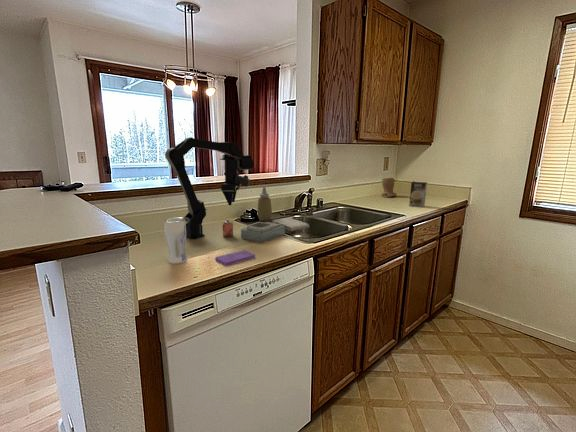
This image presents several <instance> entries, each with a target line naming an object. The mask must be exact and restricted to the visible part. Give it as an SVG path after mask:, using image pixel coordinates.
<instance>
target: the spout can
mask: <svg viewBox="0 0 576 432" xmlns="http://www.w3.org/2000/svg"><path fill="white" fill-rule="evenodd" d="M222 237H223V238H226V239H228V238H233V237H234V223H233V222H232V221H230V220H229V218H227V219H226V220H225V221H224V222H222Z"/></svg>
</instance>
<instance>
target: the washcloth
mask: <svg viewBox="0 0 576 432" xmlns="http://www.w3.org/2000/svg"><path fill="white" fill-rule="evenodd" d="M271 223H277V224H281V225H282V226H285V231H289V232H295V231H300V230H305V229H309V228H310V225H309V223H307V222H303V221H301V220H298V219H294V218H292V217H286V218H277V219H273V220H272V222H271Z"/></svg>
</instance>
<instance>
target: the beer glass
mask: <svg viewBox="0 0 576 432" xmlns="http://www.w3.org/2000/svg"><path fill="white" fill-rule="evenodd" d="M163 225H164V227H163V228H164V229H163V230H164V237H165V242H166V244H167V248H168V263H169V264H171V265H181V264H183V263H184V264H185V263H186V262H187V261H188V258H187V255H186V241H187V237H186V221H185V219H184V217H169V218H166V219H164V224H163Z"/></svg>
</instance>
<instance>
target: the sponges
mask: <svg viewBox="0 0 576 432" xmlns="http://www.w3.org/2000/svg"><path fill="white" fill-rule="evenodd" d="M252 259H256V253H253V252H250V251H248V250H246V249H243V250H239V251H236V252H232V253H227V254H222V255H219V256H215V259H214V260H215V262H217V263H219V264H221V265H223V266H224V265H225V267H226V266H229V265H233V264H234V265H235V264H237V262H238V263H240V262H241V261H242V262H244V261H249V260H252ZM242 262H241V263H242Z"/></svg>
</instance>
